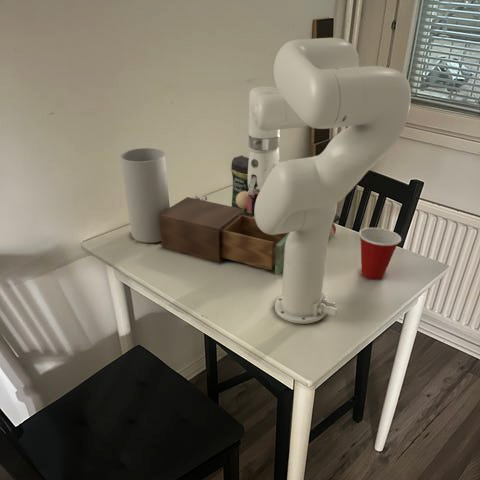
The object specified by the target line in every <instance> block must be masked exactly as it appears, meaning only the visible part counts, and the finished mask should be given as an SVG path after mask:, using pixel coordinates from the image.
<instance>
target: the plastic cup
mask: <svg viewBox="0 0 480 480" xmlns="http://www.w3.org/2000/svg"><path fill="white" fill-rule="evenodd" d="M358 235H359V239H360V264H361V274H362V276H363V277H364V278H366V279H368V280H381V279H382V278H383V277H384V276H385V274H386V271H387V268H388V267H389V265H390V262H391V259H392V257H393V255H394V252H395V250H396V249H397V247H398V245H399V244H400V243H401V242H402V237H401V236H400V234H398V233H397V232H394V231H393V230H389V229H386V228H381V227H366V228H362V229H360V230H359V233H358Z"/></svg>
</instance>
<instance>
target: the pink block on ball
mask: <svg viewBox="0 0 480 480" xmlns="http://www.w3.org/2000/svg"><path fill="white" fill-rule="evenodd" d="M255 193H256V194H259V192H255ZM236 203H237V205H238V206H239V207H240V208H242V209H247V213H251V214H252V201H251V197H250V196H249V195H248V192H246V191H243V192H240V193H239V194H238V195H237V197H236Z"/></svg>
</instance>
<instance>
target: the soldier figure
mask: <svg viewBox="0 0 480 480" xmlns="http://www.w3.org/2000/svg"><path fill="white" fill-rule="evenodd" d="M194 199H199V200H203V201H208V196H207V195H204V196H201V195H194Z"/></svg>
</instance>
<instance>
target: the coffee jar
mask: <svg viewBox="0 0 480 480" xmlns="http://www.w3.org/2000/svg"><path fill="white" fill-rule="evenodd" d="M248 163H249V156H248V157H247V156H244V155H238V156H236V157H234V158H232V160H231V164H230V165H231V167H230V171H231V176H232V194H231V207H236V208H240V207H239V206H238V205H237V203H236V197H237V195H238V194H239V193H240V192H243V191H246V192H248V191H249V188H248ZM256 189H259V188H258V187H256ZM240 209H242V208H240ZM244 216H249V217H255V215H253V214H251V213H247V209H244Z"/></svg>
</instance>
